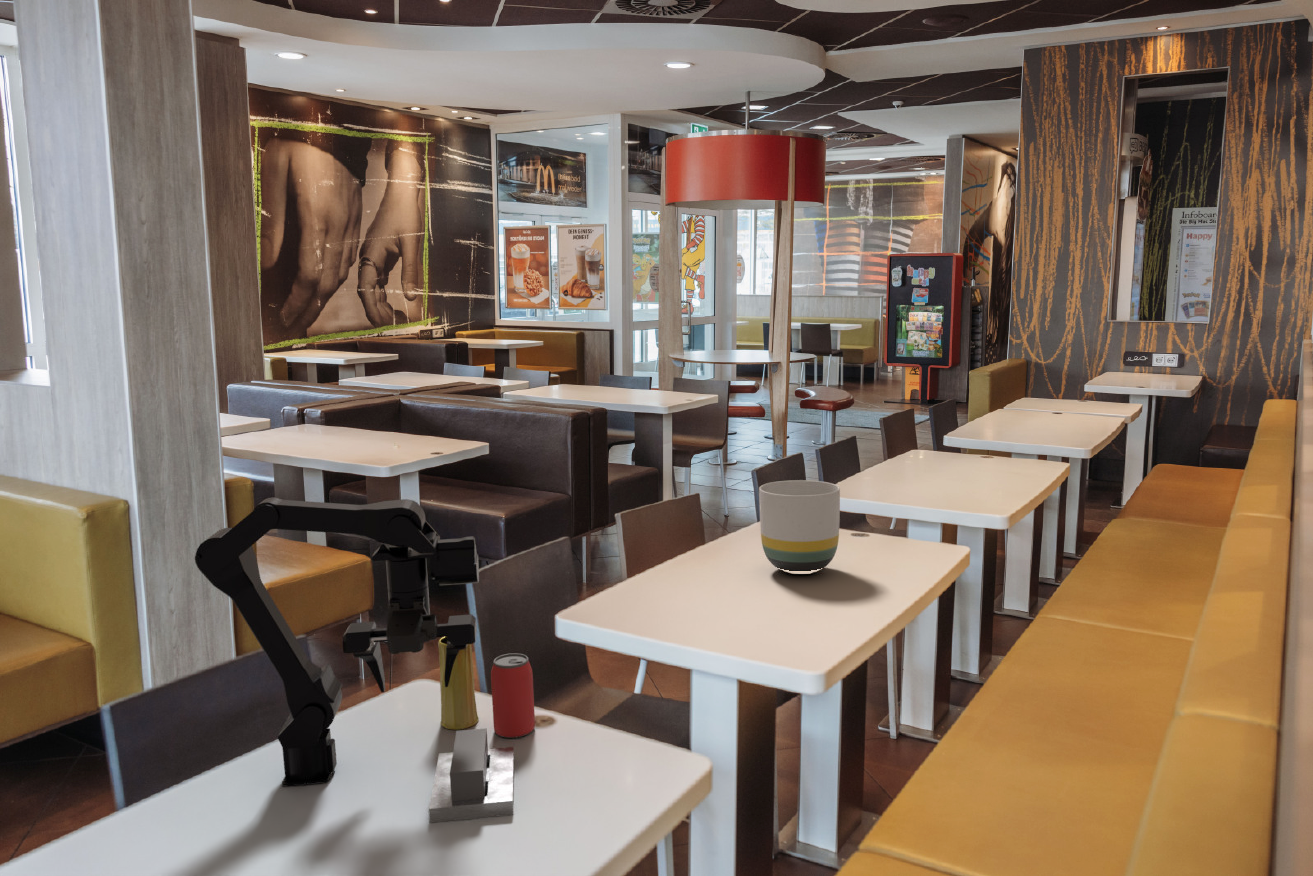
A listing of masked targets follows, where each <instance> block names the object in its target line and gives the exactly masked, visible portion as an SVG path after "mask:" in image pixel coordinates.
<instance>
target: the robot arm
mask: <svg viewBox="0 0 1313 876" xmlns="http://www.w3.org/2000/svg"><path fill="white" fill-rule="evenodd" d="M273 530H284V531H299V532H313V533H315V532H316V533H317V532H318V533H330V534H331V533H332V534H344V535H345V534H347V535H356V536H361V537H364V538H366V539H369V540H372V541H374V542H376V543H380V545H379V547H378V548H377V549H376V550H375V551H374V553H373V554H372V556H371V558H370V559H371V561H372V562H384V561H385V567H386V568H385V569H386V570H385V571H386V580H387V581H386V582H387V584H386V585H387V594H388V608H389V610H388V614H387V618H386V627H383V628H382V627H381V628H377V623H376V621H375V620H374V621H364V622H363V621H361V622H352V623H350V624H349V625H348V626H347V628H346V631H344V633H343V636H342V652H343V653H344V654H352V655H353V658H356V659H357V658H360V659H361V660H362V661H364V662H365V664H366V665H367V666H368V668H369V670H370V672H371V673H372V675H373V677H374V680H375V681H376V684H377V686H378V688H379V691H380V692H381V693H385V691H386V680H385V670H384V665H383V658H382V651H381V643H382V642H386V643H387V649H388V653H390V654H392V655H399V654H400V653H413V654H414V653H419V652H421V651H423V649H424V645H425V644H424V643H428V642H430V641H433V640H435V641H436V640H437V639H438V638H442V637H447V638H448V642H447V646H446V663H445V677H444V680H445V687H448V684H449V680H450V676H451V672H452V668H453V665H454V662H455V659H456V657H457V654H458V652H459V650H463V649H466V648H467V644H471V645H472V644H474V643H476V642H477V641H476V640H477V632H478V626H477V617H476V616H474V615H473V614H460V615H450V616H449V617H448V622H447V623H438V621H437V616H436V614H431V611H430V607H431V606H430V597H429V595H430V593H429V591H430V590H429V581H428V580H429V579H428V578H429V577H428V567H427V566H428V565H427V559H429V567H430V577H431V580H434V583H438V585H439V586H452V585H468V584H479V583H480V582H479V581H480V571H479V570H480V568H479V566H480V564H479V554H478V553H477V545H476V538H475V536H473V535H472V536H465V537H460V538H447V539H441V535H439V534H438V533H437V531H436V530H435V529H434V528H433V527H432V525H431V524H429V523H428V521H427V520H426V514H425V511H424V509H423V508H422V506H421V505H420V504H419V503H418V502H416V501H415V500H412V499H408V498H404V499H403V498H402V499H395V500H384V501H378V502H374V503H367V504H352V503H351V504H349V503H335V502H334V503H333V502H323V501H321V502H320V501H306V500H291V499H281V498H278V497H274V496H272V497H268V498H266V499H263V500H262V501H261V502H260V503H258V504H257V505H256V506H255V507H254V509H253V510H252V511H251V512H250V513H249V514H248V515H246V516H245V517H244V518H243V519H242V520H240V521H239V522H238V523H236V525H234V526H233V527H224V528H221V529H219V530H217V531H216V532H215V533H213V534H212V535H211V536H209V537H208V538H206V539H205V540H204V541H203V542H201V543H200V544H199V545H198V547H197V548H196V552H195V556H194V563H195V565H196V567H197V569H198V571H200V573H201V574H202V575H203V576H204V577H205V578H206V579H207V580H208V582H209V583H210V584H211V585H212V586H213V587H215V588H216V589H217V590H218V591H220V592H222V593H223V594H224V595H226V596H227V597H229V598H230V599H231V600H232V602H233V603H234V605H235V606H236V608H237V610H238V612H239V613H240V614H241V616H242V617H243V618H242V619H244V621H245V622H246V624H247V626H248V627H249V629H250V631H251V633H252V634H253V636H254V637H255V639H256V641H257V642H258V644H259V645H260V648H262V650H263V652H264V653H265V654H264V655H266V657H267V659H268V660H269V662H270V663H271V665H272V667H273V669H275V671H276V673H277V674H278V676H279V678H280V679H281V681H282V685H283V691H284V696H285V701H286V705H287V707H288V711H289V715H288V718H287V719H286V721H285V723H284V725H283V726H282V729H281V730H280V732H279V734H278V736H277V740H278V742H279V743H280V745H281V748H282V757H283V760H282V761H283V769H284V770H283V771H284V777H283V780H282V781H281V786H282V787H289V786H300V785H303V786H304V785H311V784H324V783H328V782H329V781H330V778H331V776H332V774H333V772H334V771H335V769H336V767H337V764H338V763H337V750H336V739H335V738H332V736H331V734H332V733H331V728H330V726H331V725H332V723H333V722H334V720H335V717H336V715H337V713H338V711H339V708H340V706H341V703H342V699H343V693H342V689H341V688H342V687H343V683H342V682H341V681H339V680H338V678H337V677H336V675H335V674H334V671H333V668H332V667H331V665H330V663H326V664H325V665H323V667H322V668H321V667H319V666H318V665H317V664H315V663H313V662H312V661H311V660H310V659H309V657H308V656H307V654H306V652H305V651H304V649H303V646H301V643H300V642H299V641H298V639H297V638H296V636H295V633H294V632H293V631H292V628H291V627H290V625H289V624H288V623H287V621H286V619H285V618H284V615H283V614H282V613H281V611H280V609H279V608H278V606H277V605H276V602H275V601H274V600H273V598H272V596H271V595H270V593H269V591H268V590H267V588H266V586H265V585H264V583H263V581H262V579H261V575H260V570H259V564H258V559H257V555H256V552H255V551H254V548H253V545H254V544H256V542H258V541H259V540H260V539H262V537H264V536H265V535H266V534H268V533H269V532H270V531H273Z"/></svg>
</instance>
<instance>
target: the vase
mask: <svg viewBox="0 0 1313 876" xmlns="http://www.w3.org/2000/svg"><path fill="white" fill-rule="evenodd" d="M447 642H448V638H447V637H440V638H439V640H438V643H437V644H438V645H437V646H438V658H439V659H438V661H439V686H440V689H439V690H440V714H441V715H440V716H441V718H440V725H441V726H442V728H445V729H447V730H455V731H460V730H466V729H469V728H471V727H473V726H474V725H476V724H477V723H478V721H479V716H478V710H477V701H476V694H475V693H476V692H475V690H476V689H475V676H474V675H475V674H474V665H473V664H474V663H473V649H472V646H473V645H472V644H467V648H466V649H463V650H459V652H458V654H457V657H456V659H455V662H454V665H453V668H452V672H451V676H450V680H449V684H448V687H445V680H444V677H445V663H446V646H447Z"/></svg>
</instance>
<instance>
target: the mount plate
mask: <svg viewBox="0 0 1313 876" xmlns="http://www.w3.org/2000/svg"><path fill="white" fill-rule="evenodd" d="M514 751H515V749H514V746H510V747H509V746H507V747H498V748H495V747H494V748H488V762H487V774H486V787H485V798H478V799H468V800H457V801H452V799H451V784H450V769H451V763H452V756H453V751H451V752H440V753H438V757H437V764H436V769H435V773H434V774H435V775H434V778H433V779H434V780H433V785H432V793H431V796H430V801H429V807H428V813H429V823H430V824H432V823H442V822H452V821H461V820H472V819H473V820H474V819H483V818H495V817H503V816H513V815H514V794H515V793H514V791H515V790H514V789H515V788H514V787H515V786H514V785H515V752H514Z"/></svg>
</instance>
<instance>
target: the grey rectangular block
mask: <svg viewBox="0 0 1313 876" xmlns="http://www.w3.org/2000/svg"><path fill="white" fill-rule="evenodd" d="M488 744H489V743H488V728H486V727H485V728H476V729H475V728H474V729H460V730H455V737H454V743H453V751H452V752H453V756H452V763H451V769H450V784H451V799H452V801H457V800H468V799H478V798H485V796H486V795H485V787H486V774H487V762H488V749H489V746H488Z"/></svg>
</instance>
